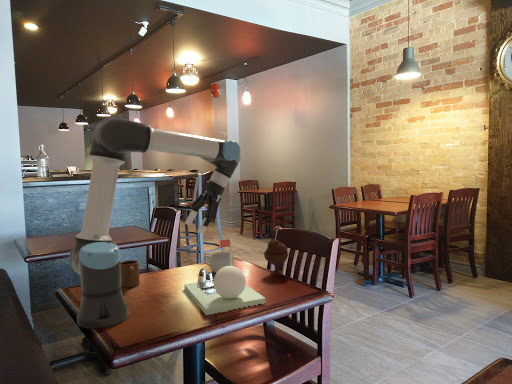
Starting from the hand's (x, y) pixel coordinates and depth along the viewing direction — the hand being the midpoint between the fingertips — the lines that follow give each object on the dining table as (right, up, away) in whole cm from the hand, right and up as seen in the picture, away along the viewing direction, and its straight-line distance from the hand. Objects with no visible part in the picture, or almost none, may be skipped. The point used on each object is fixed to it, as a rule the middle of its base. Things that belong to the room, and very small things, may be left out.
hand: (193, 228), depth 156 cm
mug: (-24, -23, -6) cm, 34 cm away
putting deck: (+14, -23, -20) cm, 33 cm away
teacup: (+9, -21, +12) cm, 26 cm away
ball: (+17, -16, -28) cm, 36 cm away
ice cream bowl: (+35, -21, +7) cm, 41 cm away
